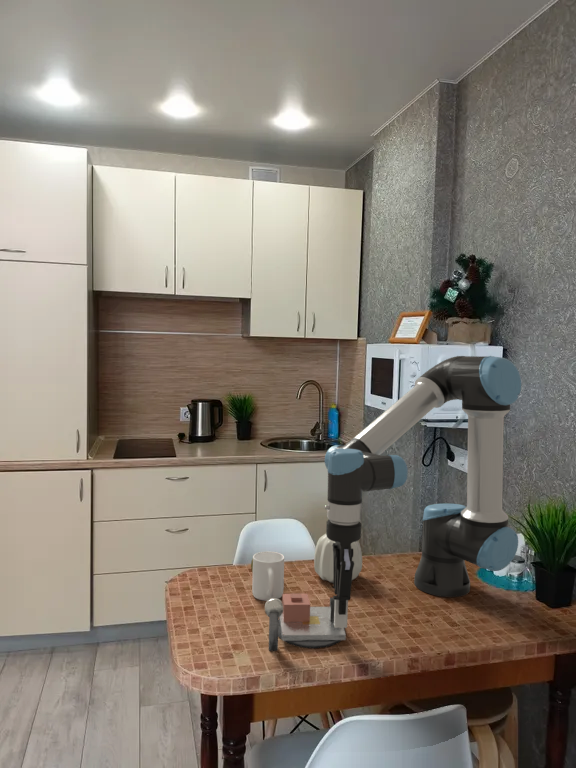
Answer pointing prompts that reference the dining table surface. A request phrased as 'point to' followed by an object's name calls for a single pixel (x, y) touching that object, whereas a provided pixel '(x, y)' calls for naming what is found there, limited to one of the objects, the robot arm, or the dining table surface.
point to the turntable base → (309, 641)
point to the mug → (268, 575)
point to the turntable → (313, 626)
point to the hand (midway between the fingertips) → (340, 626)
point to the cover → (296, 608)
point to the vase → (325, 558)
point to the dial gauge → (273, 621)
